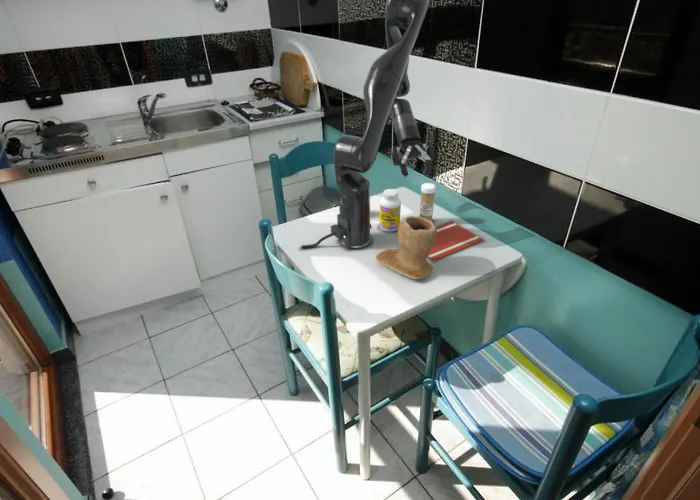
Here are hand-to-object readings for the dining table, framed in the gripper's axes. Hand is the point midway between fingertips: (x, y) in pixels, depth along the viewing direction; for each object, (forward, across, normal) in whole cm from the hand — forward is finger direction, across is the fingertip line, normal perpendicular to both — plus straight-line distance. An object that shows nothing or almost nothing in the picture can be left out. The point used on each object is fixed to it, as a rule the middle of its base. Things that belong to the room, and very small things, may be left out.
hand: (418, 174), depth 139 cm
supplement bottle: (+15, -13, +5) cm, 20 cm away
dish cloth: (+24, 0, -4) cm, 25 cm away
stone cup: (+31, -16, -11) cm, 37 cm away
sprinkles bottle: (+16, 0, +5) cm, 16 cm away
